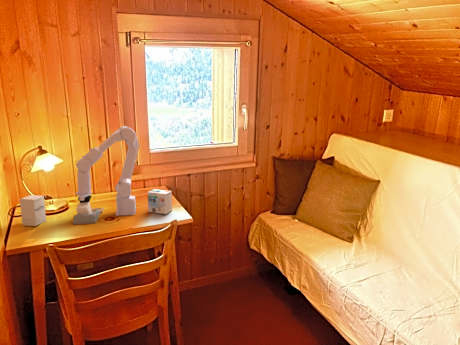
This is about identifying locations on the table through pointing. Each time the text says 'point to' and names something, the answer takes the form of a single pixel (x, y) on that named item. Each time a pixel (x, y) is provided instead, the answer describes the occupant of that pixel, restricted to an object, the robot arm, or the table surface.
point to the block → (84, 208)
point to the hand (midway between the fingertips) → (85, 210)
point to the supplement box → (33, 210)
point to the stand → (96, 209)
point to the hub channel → (86, 218)
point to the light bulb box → (159, 201)
